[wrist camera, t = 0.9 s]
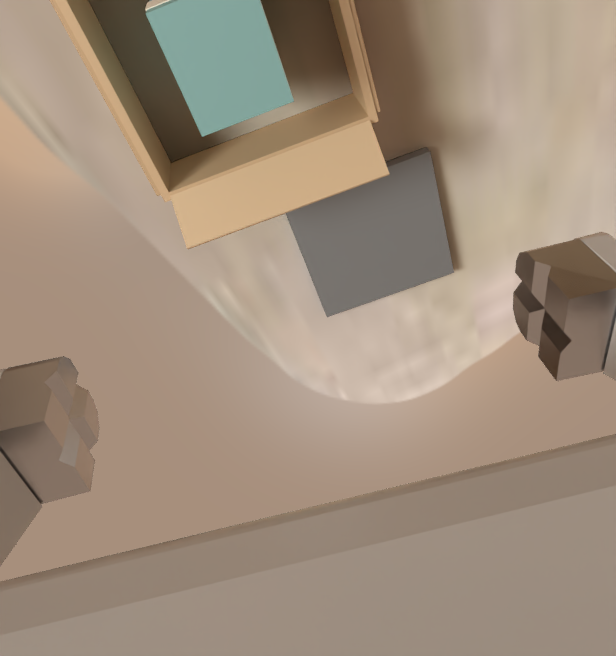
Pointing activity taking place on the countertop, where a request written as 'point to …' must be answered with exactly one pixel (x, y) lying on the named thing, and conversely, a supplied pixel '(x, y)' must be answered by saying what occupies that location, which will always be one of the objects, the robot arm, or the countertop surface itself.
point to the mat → (375, 236)
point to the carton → (246, 140)
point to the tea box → (221, 58)
